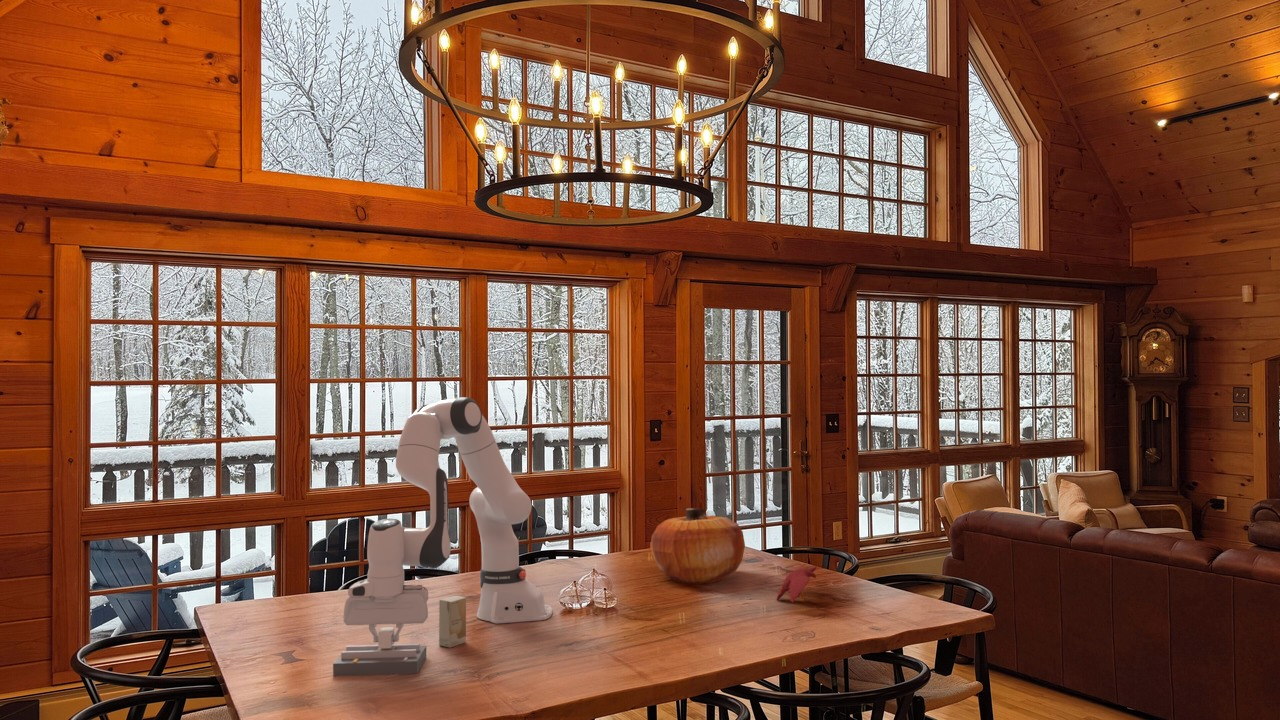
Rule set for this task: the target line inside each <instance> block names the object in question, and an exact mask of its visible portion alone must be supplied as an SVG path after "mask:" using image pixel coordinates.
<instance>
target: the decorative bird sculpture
mask: <svg viewBox="0 0 1280 720" xmlns="http://www.w3.org/2000/svg"><path fill="white" fill-rule="evenodd" d="M817 568H818V567H817V566H811V567H810V566H809V567H803V568H798V569H795V570H793V571H791V572H790V573H788V575H787V576H786V577H785V579H784V580H783V583H782V586H781V587H780V590H779V592H778V593H777V596H776V601H779V600H780V599H781V598H782V597H783V596H784V595H785V593H788V594H789V595H788V596H789V602H792V603H794V602H796V600H797V599H798V598H799V599H800V600H802V603H804V602H806V601H807V599H808V598H809V597H805V596H804V595H803V594H802V591H804V590H805V588H806V586H807V585H808V583H809V581H810V578H811V577H812V578H813V579H816V578H817V575H816V574H815V573H814V572H815V571H816V569H817Z"/></svg>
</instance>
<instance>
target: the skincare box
mask: <svg viewBox="0 0 1280 720" xmlns="http://www.w3.org/2000/svg"><path fill="white" fill-rule="evenodd" d="M438 604H439V606H438V608H439V611H438V613H439V615H438V617H439V618H438V619H439V620H438V621H439V623H438V624H439V626H438V627H439V629H438V646H442V647H447V648H453V647H456V646H460V645H462V644H465V643H466V642H467V597H465V596H461V595H460V596H459V595H453V596H449V597H445V598H441V599H439V603H438Z"/></svg>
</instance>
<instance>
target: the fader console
mask: <svg viewBox="0 0 1280 720" xmlns="http://www.w3.org/2000/svg"><path fill="white" fill-rule="evenodd" d="M394 646H396V650H378V644H362V645H360V644H359V645H346V647H345V650H343V651H341V652H340V654H341V655H339V656H338V658H337V659H336V660H335V661H334V662H333V664H332V668H333V669H332V676H333V677H348V676H349V677H350V676H352V677H353V676H380V675H381V676H383V675H385V676H386V675H387V676H388V675H389V676H390V675H413V674H414V675H416V674H419V673H418V672H420V669H421V668H422V666H423V664H424V663H425V661H426V659H427V645H421V643H399V644H398V643H397V644H395V643H394V644H393V646H392V647H394Z"/></svg>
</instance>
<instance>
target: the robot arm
mask: <svg viewBox="0 0 1280 720" xmlns="http://www.w3.org/2000/svg"><path fill="white" fill-rule="evenodd" d="M452 438H454V439H455V443H456V446H457V449H458V453H459V454H460V458H461V459H462V461H463V465H464V467H465V470H466V472H467V475H468V477H469V478H470V480H471V481H473V483H474V484H475V486H477V487H475V488H474V489H473V490H472V491H471V493H470V496H469V507H470V509H471V512H473V514H474V517H475V520H476V524H477V530H478V533H479V536H480V543H481V544H480V546H481V569H480V570H479V571H480V572H479V586H480V588H481V589H480V597H479V599H480V600H479V603H478V609H477V613H476V617H477V618H478V619H479V620H483V621H487V622H490V623H493V624H507V623H508V624H509V623H518V622H519V623H521V622H531V621H532V622H533V621H534V622H536V621H543V620H547V619H549V618H550V617H551V616H552V615H553V614H552V613H553V609H552V607H551V606H550V605H548V604H546V603H545V598H544V595H543V592H542V590H541V589H539V588H538V587H537V586H535V585H534V584H533V583H531V582H530V581H529V580H527V579H526V577H527V572H526V569H525V567H523V568H522V567H521V566H519V563H520V557H519V555H520V553H519V549H520V547H519V540H518V538H517V536H516V534H515V533H514V529H513V526H512V525H517V524H522V523H523V522H525V521H526V520H528V518H529V517H530V515H531V512H532V501H531V498H530V497H529V496H528V494H527V493H526V492H525V491H524V490H523V489H522V488H521V487H520V486H519V484H518V483H517V480H516V479H515V478H514V476H513V475H512V472H510V470H509V468H508V466H507V465H506V463H505V461H504V459H503V455H502V454H501V452H500V449H499V446H498V444H497V441H496V438H495V436H494V433H493V431H492V429H491V428H490V425H489V423H488V421H487V419H486V418H485V417H484V415H483V414H482V409H481V407H480V405H479V404H478V403H477V402H476V400H474V399H473V398H471V397H467V396H466V397H464V396H462V397H457V398H449V399H448V398H447V399H442V400H439V401H435V402H432V403H429V404H424V405H422V406H420V407H418V408H417V409H415V410H414V411H413V413H412V414H411V415H410V416H408V417H407V419H406V421H405V423H404V426H403V429H402V432H401V435H400V438H399V441H398V442H399V443H398V447H397V451H396V456H395V457H396V458H395V468H396V470H397V474H398V475H400V477H401V478H402V479H404V480H405V481H406V482H408V483H410V484H411V485H413V486H416V487H418V488H420V489H423V490H424V491H426V492H427V493H428V494H429V499H430V501H429V502H430V505H429V506H430V507H429V509H430V510H429V512H430V513H429V517H430V518H429V519H430V520H429V521H430V522H429V526H427V527H425V528H423V527H405V526H403V525H402V522H401V521H400V519H396V518H384V519H378V520H376V521H374V522H373V523H371V525H370V527H369V531H368V538H367V549H366V550H367V555H366V556H367V561H368V571H367V578H364V579H362V580H358V581H357V582H355V583H353V584H351V585H350V586H349V588H348V589H347V595H348V598H346V600H345V603H344V607H343V622H344V623H345V625H346V626H368V630H369V631H370V633H371V634H372V636H373V643H378V631H377V629H376V627H377V625H395V628H396V629H397V630H396V632H394V633H393V634H392V642H394V643H397V642H399V641H400V633H401V631H402V630H403V627H404V625H407V624H409V625H410V624H411V625H413V624H424V623H425V622H426V621H427V619H428V618H429V617H428V616H429V612H428V611H429V609H428V603H427V602H428V600H429V589H428V588H427V587H425V586H423V585H422V584H416V585H413V584H410V585H409V584H408V585H407V584H405V569H404V566H405V567H406V566H407V567H409V566H410V567H423V568H429V569H431V568H432V569H437V568H439V567H441V566H442V565H443V564H444V563H446V562H447V560H448V559H449V558H450V556H451V551H452V550H451V549H452V548H451V547H452V544H451V542H452V541H451V535H450V519H449V517H450V511H449V510H450V509H449V508H450V507H449V504H450V503H449V501H450V500H449V484H448V483H449V482H448V477H447V476H448V475H447V473H446V472H445V470H443V469H441V467H440V461H439V456H440V451H441V450H440V448H441V440H442V441H443V440H447V439H452Z"/></svg>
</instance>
